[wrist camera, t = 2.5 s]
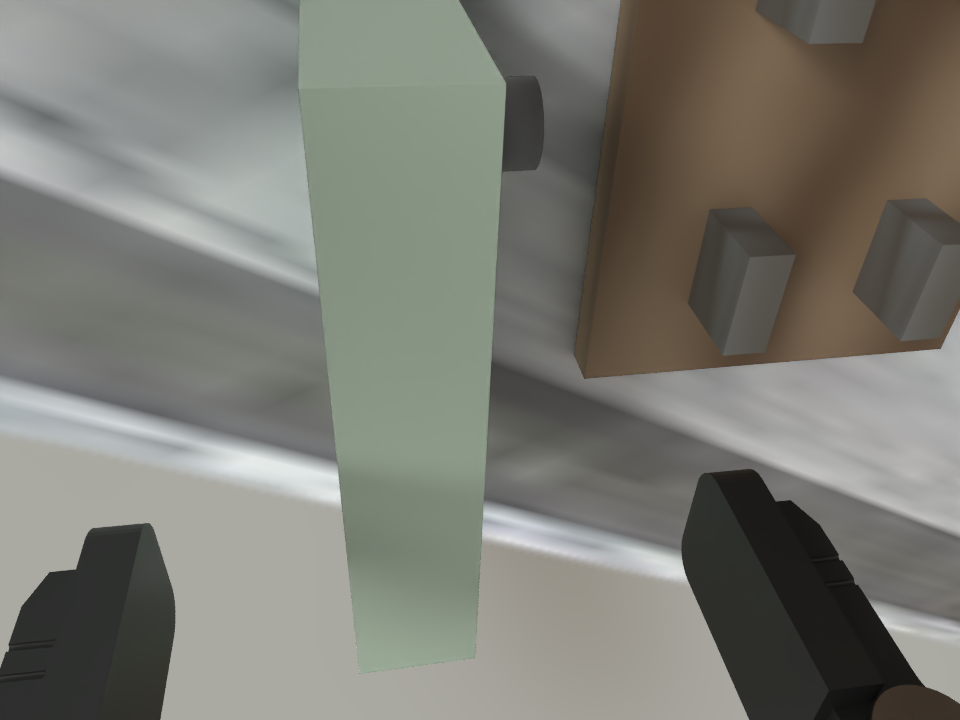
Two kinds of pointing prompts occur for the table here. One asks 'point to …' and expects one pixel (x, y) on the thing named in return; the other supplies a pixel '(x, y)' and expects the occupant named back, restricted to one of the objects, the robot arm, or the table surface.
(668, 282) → the wooden l-shaped stand
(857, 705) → the robot arm
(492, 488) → the table surface
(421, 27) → the door
